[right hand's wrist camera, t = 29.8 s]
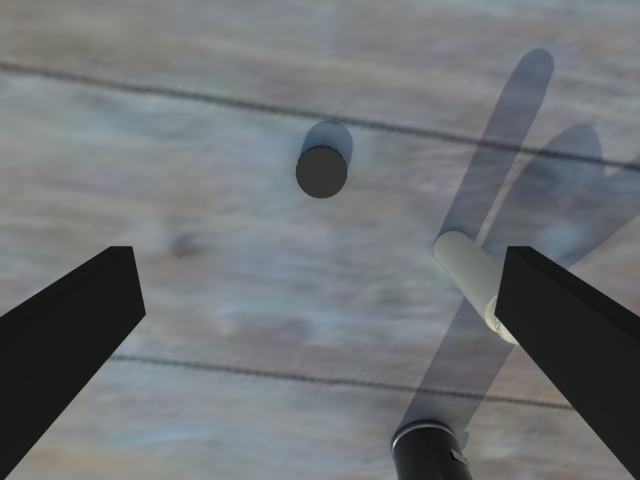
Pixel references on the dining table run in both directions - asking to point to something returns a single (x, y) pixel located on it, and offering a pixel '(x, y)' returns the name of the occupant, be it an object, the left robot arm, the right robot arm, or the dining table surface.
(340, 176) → the lid
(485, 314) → the jar
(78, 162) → the dining table surface
